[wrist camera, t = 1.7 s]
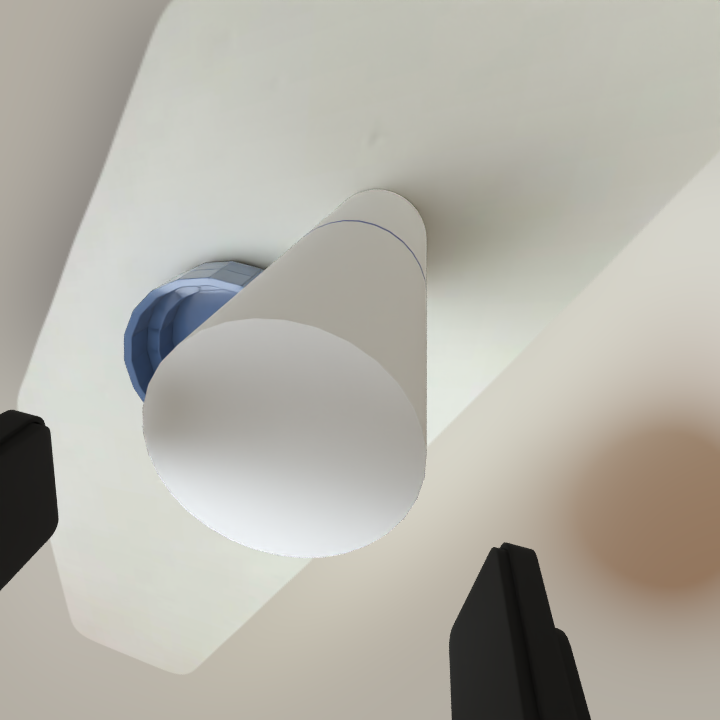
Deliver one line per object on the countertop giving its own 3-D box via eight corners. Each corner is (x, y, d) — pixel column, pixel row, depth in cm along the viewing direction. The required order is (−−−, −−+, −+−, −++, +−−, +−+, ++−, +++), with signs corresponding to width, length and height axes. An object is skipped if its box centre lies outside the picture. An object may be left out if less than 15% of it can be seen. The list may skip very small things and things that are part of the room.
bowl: (160, 239, 36) (122, 255, 32) (340, 285, 36) (328, 307, 31) (156, 394, 42) (124, 425, 38) (309, 434, 42) (295, 470, 38)
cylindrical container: (414, 176, 32) (383, 284, 9) (436, 277, 35) (452, 543, 12) (315, 204, 33) (90, 353, 11) (343, 298, 36) (210, 569, 14)
